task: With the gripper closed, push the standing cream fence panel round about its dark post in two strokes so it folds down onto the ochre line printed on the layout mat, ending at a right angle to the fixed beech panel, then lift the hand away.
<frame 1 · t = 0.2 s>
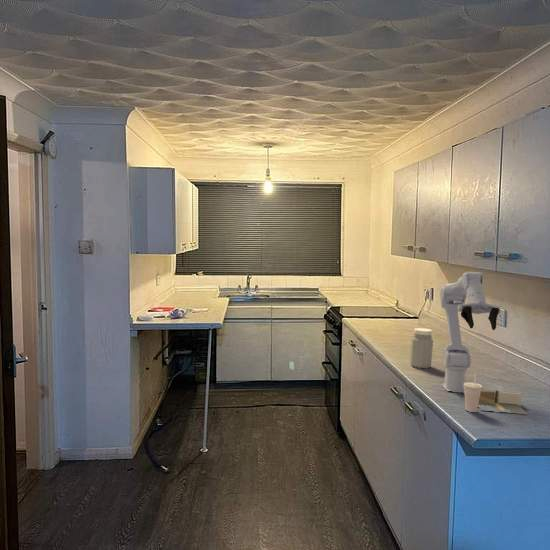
hand: (483, 327, 174), 31 cm above the worktop, tool tilted 45°, fingers open, 7 cm apart
fence panel: (509, 398, 188), point 3 cm above the worktop, hinge at 90.0°
jar: (420, 366, 239), on the worktop
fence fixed: (495, 403, 189), resting on layout mat
layout mat: (497, 405, 187), on the worktop
smoothie: (470, 411, 180), on the worktop
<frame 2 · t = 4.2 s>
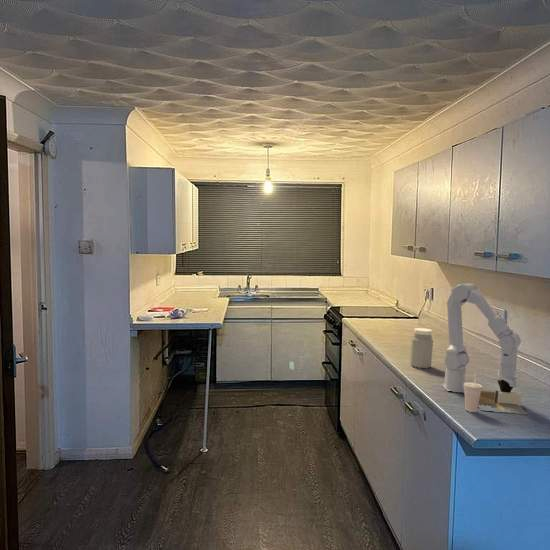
hand: (504, 399, 190), 1 cm above the worktop, tool pointing down, fingers closed, pressing on fence panel
fence panel: (509, 398, 188), point 3 cm above the worktop, hinge at 90.0°, touching gripper
everything else where it was.
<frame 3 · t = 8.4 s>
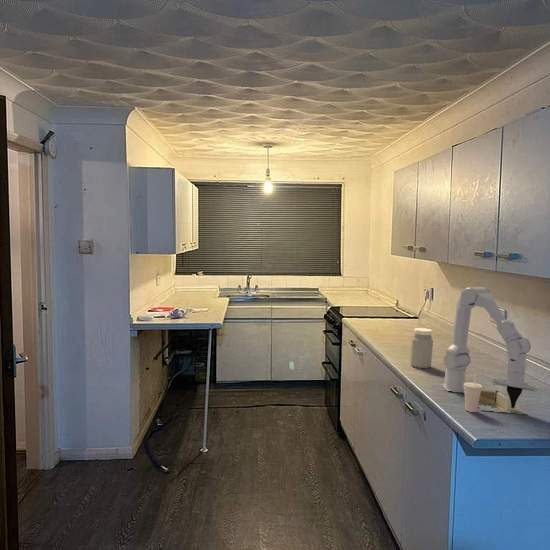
hand: (512, 407, 181), 1 cm above the worktop, tool pointing down, fingers closed
fence panel: (502, 401, 184), point 3 cm above the worktop, hinge at 10.3°, touching gripper
everything else where it was.
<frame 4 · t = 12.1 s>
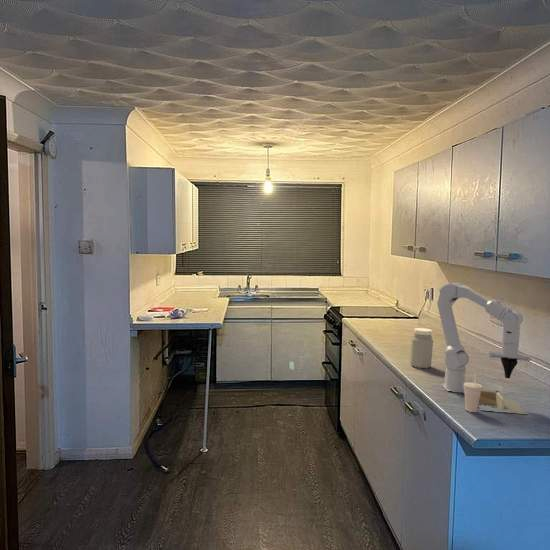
hand: (507, 377, 190), 10 cm above the worktop, tool pointing down, fingers closed
fence panel: (499, 401, 184), point 3 cm above the worktop, hinge at -3.7°
everything else where it was.
at the end: fence panel at -4° (first picture: +90°); smoothie moved 0.2 cm from its start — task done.
